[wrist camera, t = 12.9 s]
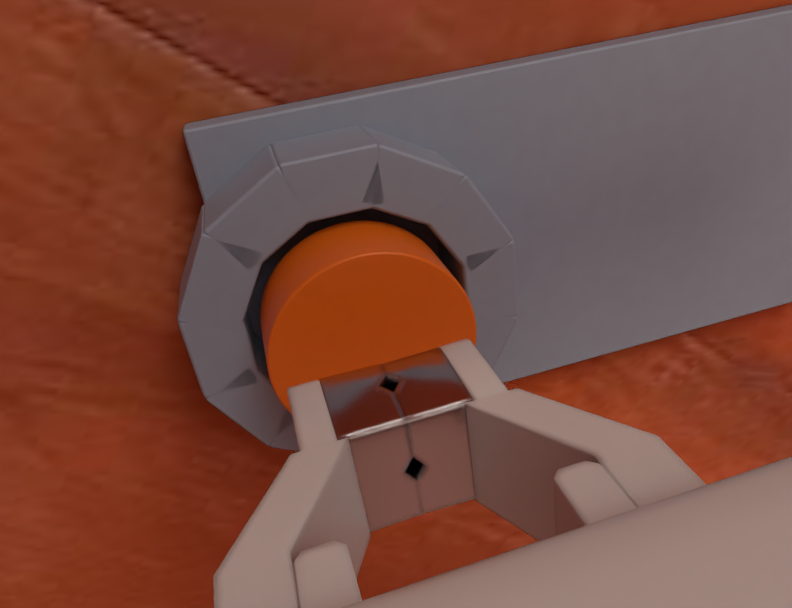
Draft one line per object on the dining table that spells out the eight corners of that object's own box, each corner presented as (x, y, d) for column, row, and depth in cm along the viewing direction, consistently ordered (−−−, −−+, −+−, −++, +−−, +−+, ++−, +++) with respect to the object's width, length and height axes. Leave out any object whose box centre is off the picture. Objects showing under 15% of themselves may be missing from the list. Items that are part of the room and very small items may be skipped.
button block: (238, 441, 17) (242, 509, 15) (134, 133, 13) (119, 164, 11) (801, 284, 19) (876, 323, 17) (854, -9, 16) (958, -7, 13)
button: (284, 412, 14) (294, 464, 13) (237, 245, 12) (241, 282, 11) (456, 365, 15) (485, 409, 13) (437, 199, 13) (468, 229, 11)
